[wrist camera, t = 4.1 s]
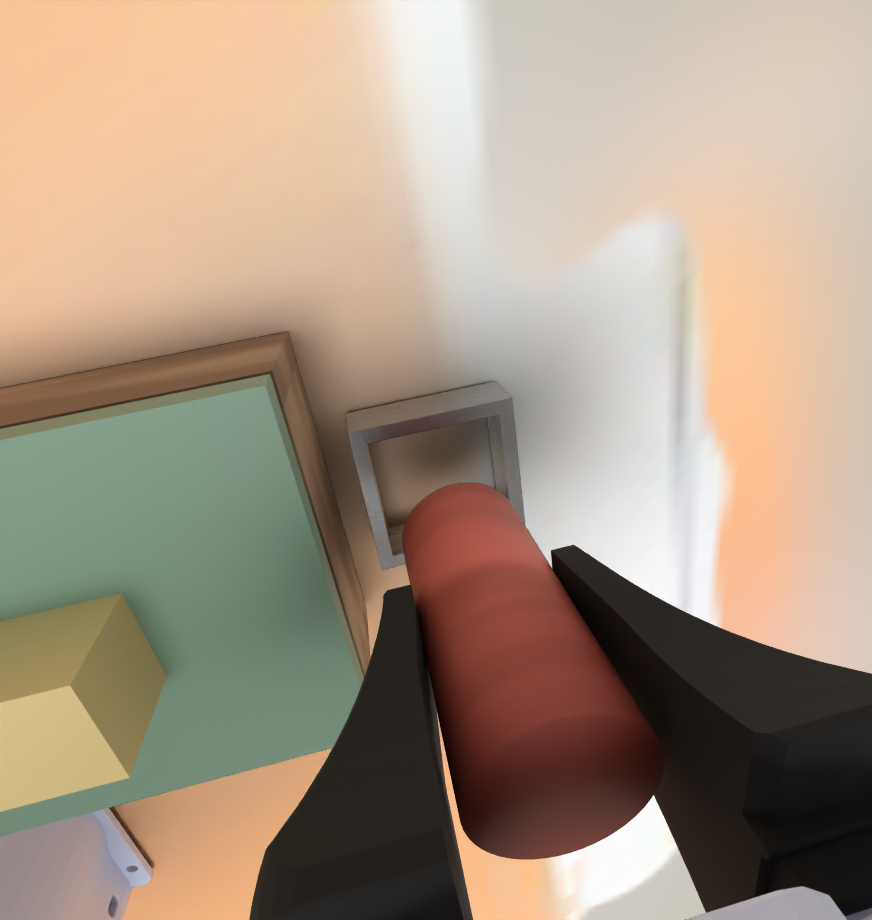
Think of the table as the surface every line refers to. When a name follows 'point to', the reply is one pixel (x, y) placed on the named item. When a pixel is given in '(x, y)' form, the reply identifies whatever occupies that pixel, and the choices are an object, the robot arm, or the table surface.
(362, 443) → the key socket
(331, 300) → the table surface
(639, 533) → the table surface
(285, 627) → the lid
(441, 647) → the key peg
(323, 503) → the wooden box
